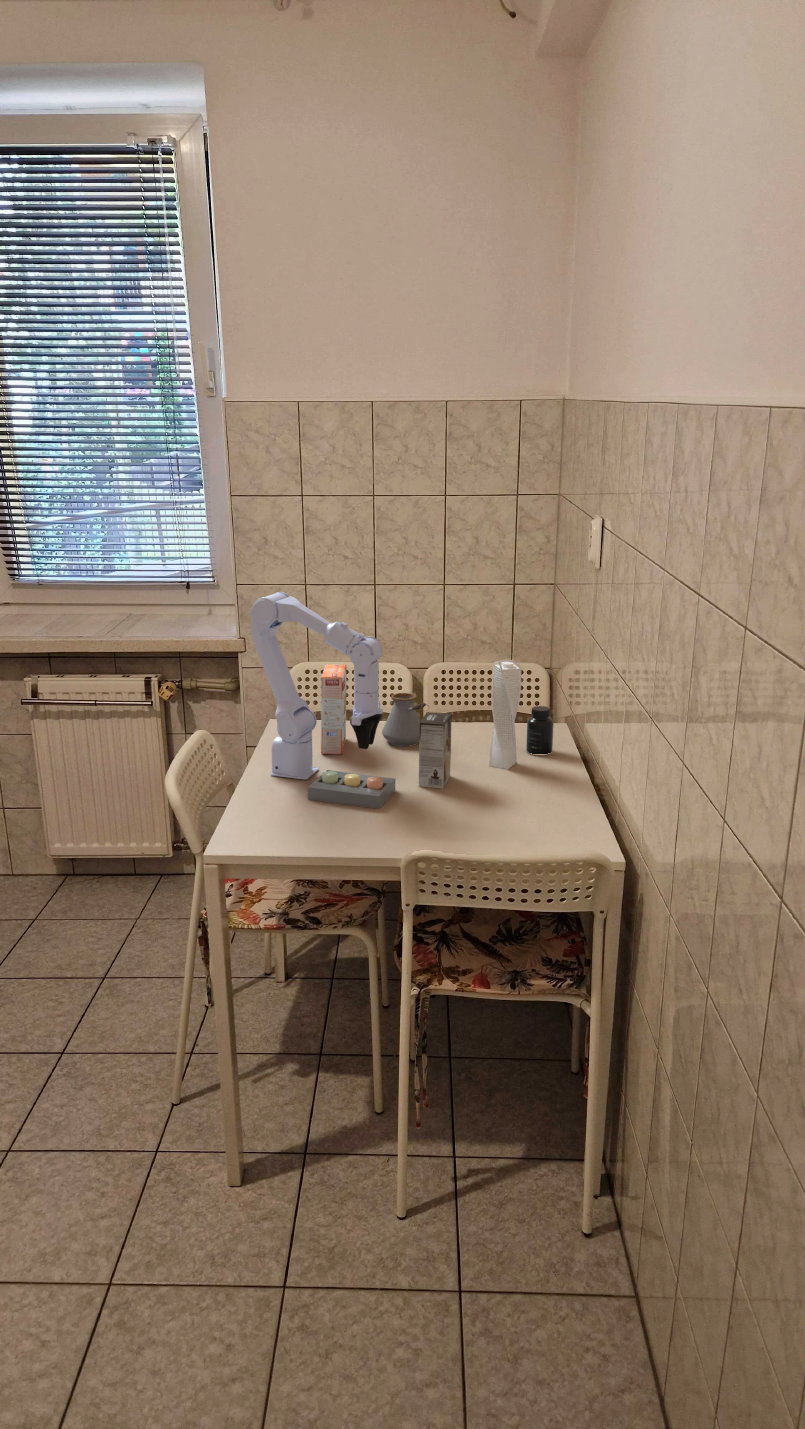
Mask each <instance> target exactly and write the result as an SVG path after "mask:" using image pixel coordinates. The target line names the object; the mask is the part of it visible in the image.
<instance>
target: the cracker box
mask: <svg viewBox="0 0 805 1429" xmlns="http://www.w3.org/2000/svg"><path fill="white" fill-rule="evenodd" d="M320 680H321V682H320V683H321V684H320V685H321V686H320V698H321V699H320V703H321V705H320V716H321V717H320V719H321V720H320V729H321V730H320V754H321V755H337V756H338V755H339V756H341V755H343V751H344V747H345V742H346V736H347V735H346V734H347V733H346V732H347V731H346V730H347V665H346V664H341V663H340V664H333V663H331V664H330V663H326V664H325V666H324V669H323V672H322V674H321V677H320Z"/></svg>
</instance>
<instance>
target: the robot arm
mask: <svg viewBox="0 0 805 1429" xmlns="http://www.w3.org/2000/svg"><path fill="white" fill-rule="evenodd" d="M249 615H250V618H251V624H250V625H251V626H250V636H251V639H252V642H253V644H254V647H255V650H256V653H257V655H258V658H259V660H260V663H261V665H262V668H263V671H264V673H265V675H266V678H267V681H268V684H269V687H270V688H271V691H272V694H273V696H274V699H275V702H276V703H277V707H276V710H275V714H274V715H275V716H274V717H275V720H276V730H277V734H278V736H276V737H275V738H274V739H273V741H272V744H271V773H270V775H271V776H274V777H282V778H288V779H289V778H290V779H298V780H305V781H307V780H308V779H310V777H312V775H314V774H315V773H316V772H318V771H319V767H315V766H313V734H312V733H313V730H314V729H315V728H316V725H317V717H316V715H315V713H314V711H313V710H311V708H310V707H309V705H308V702H307V701H306V700H305V699H303V698H302V697H301V696H300V695H299V693H298V690H297V688H296V685H295V683H294V680H293V677H292V675H291V673H290V672H291V671H290V670H289V667H288V665H287V662H286V659H285V657H284V654H283V651H282V649H281V647H280V644H279V641H278V639H277V634H278V631H279V630H280V628H281V625H282V624H283V623H284V622H285V623H286V622H296V623H298V624H300V625H301V626H304V627H306V628H308V629H310V630H312V631H313V632H315V633H317V634H319V635H321V636H323V637H324V642H325V643H326V644H327V645H329V646H330V647H332V648H334V649H336V650H338V651H339V652H340V653H342V654H344V655H346V656H347V657H349V659H350V661H351V662H352V664H353V707H352V716H351V718H350V719H349V724H350V726H351V727H352V730H353V732H354V734H355V737H356V738H355V739H356V741H357V742H356V743H357V746H358V748H359V749H360V750H361V749H363V750H368V749H369V748H370V747H369V746H370V745H373V744H374V742H375V736H376V733H377V729H378V726H379V723H380V721H381V720H382V718H383V715H382V714H383V713H384V709H383V708H381V700H379V696H380V695H379V692H380V691H379V689H380V688H379V687H380V686H379V684H380V681H379V679H380V676H379V674H380V673H379V672H380V671H379V668H380V667H379V665H380V664H379V662H380V661H379V659H381V657H382V655H383V650H384V649H383V645H382V644H381V642H380V641H379V640H378V639H377V638H376V637H375V636H365V635H366V634H364V633H362V632H361V633H359V632H358V631H356V630H353V629H352V628H350V627H349V626H348V623H347V622H345V621H341V622H340V621H335V622H330V621H328V620H327V619H325V618H324V617H322V616H321V615H319V614H318V613H316V612H315V611H313V610H311V609H310V608H308V607H307V606H306V605H304V604H302V603H301V602H300V601H299V600H298V599H297V598H296V597H294V596H292V595H291V596H290V595H289V594H288V593H286V592H283V591H277V592H274V593H273V594H270V595H267V596H264V597H259V598H257V599H256V600H255V601H254V602H253V604H252V605H251V608H250V610H249Z"/></svg>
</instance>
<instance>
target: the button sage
mask: <svg viewBox="0 0 805 1429" xmlns="http://www.w3.org/2000/svg"><path fill="white" fill-rule="evenodd" d="M334 771H335V770H331V771H327V770H326V771H323V772H321V775H322V783H330V784H336V783H337V782H338V773H337V772H334Z"/></svg>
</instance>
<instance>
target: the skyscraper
mask: <svg viewBox="0 0 805 1429" xmlns="http://www.w3.org/2000/svg"><path fill="white" fill-rule="evenodd" d="M492 665H493V667H492V676H491V692H490V693H491V695H490V696H491V697H490V698H491V701H490V702H491V712H492V713H491V714H492V717H493V718H492V720H493V727H492V728H493V730H492V736H491V742H490V750H489V751H490V753H489V760H488V766H490V767H493V768H499V769H504V770H509V769H510V768H512V767H513V766H514V765H516V764H517V763H518V761H517V760H518V757H517V737H516V722H515V720H516V717H517V714H518V709H519V705H520V700H521V691H522V667H521V665H520V663H518V662H517V661H516V660H513V659H509V658H508V659H506V658H505V659H500V660H496V661H494V662H493V664H492ZM515 763H516V764H515ZM512 765H513V766H512Z"/></svg>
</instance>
